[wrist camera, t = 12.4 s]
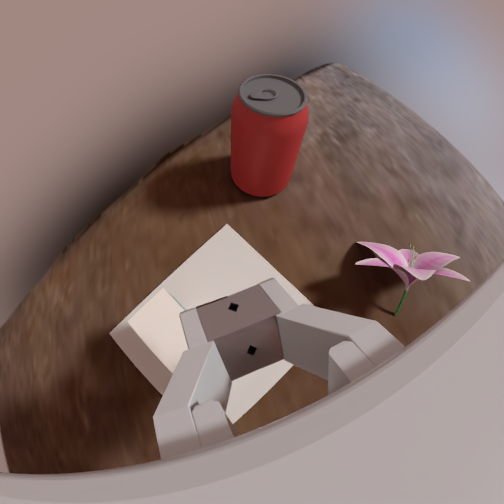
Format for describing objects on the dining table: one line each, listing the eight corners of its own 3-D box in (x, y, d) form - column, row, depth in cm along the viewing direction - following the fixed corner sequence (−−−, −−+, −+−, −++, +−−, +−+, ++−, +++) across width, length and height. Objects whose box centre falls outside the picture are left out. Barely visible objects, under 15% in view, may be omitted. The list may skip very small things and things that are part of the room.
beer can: (224, 158, 32) (222, 75, 20) (277, 147, 33) (294, 67, 21) (240, 206, 30) (245, 125, 18) (298, 192, 31) (328, 114, 19)
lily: (439, 282, 29) (469, 218, 23) (436, 363, 22) (487, 300, 15) (353, 256, 34) (368, 187, 27) (327, 331, 26) (347, 258, 20)
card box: (215, 384, 23) (204, 406, 14) (165, 332, 24) (126, 321, 15) (239, 361, 24) (243, 370, 15) (188, 310, 25) (163, 287, 16)
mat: (212, 440, 22) (211, 442, 21) (110, 333, 24) (109, 333, 24) (330, 322, 26) (331, 322, 26) (227, 225, 29) (227, 223, 28)
